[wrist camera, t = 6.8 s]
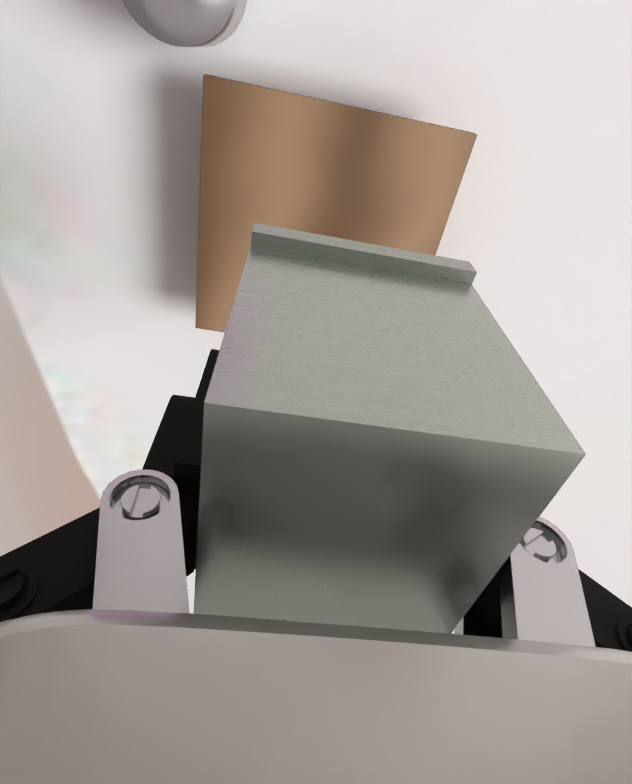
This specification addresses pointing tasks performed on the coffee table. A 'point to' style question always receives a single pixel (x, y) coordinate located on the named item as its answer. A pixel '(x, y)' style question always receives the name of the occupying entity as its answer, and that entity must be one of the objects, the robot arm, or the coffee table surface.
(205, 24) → the knob
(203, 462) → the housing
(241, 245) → the stand
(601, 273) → the coffee table surface
